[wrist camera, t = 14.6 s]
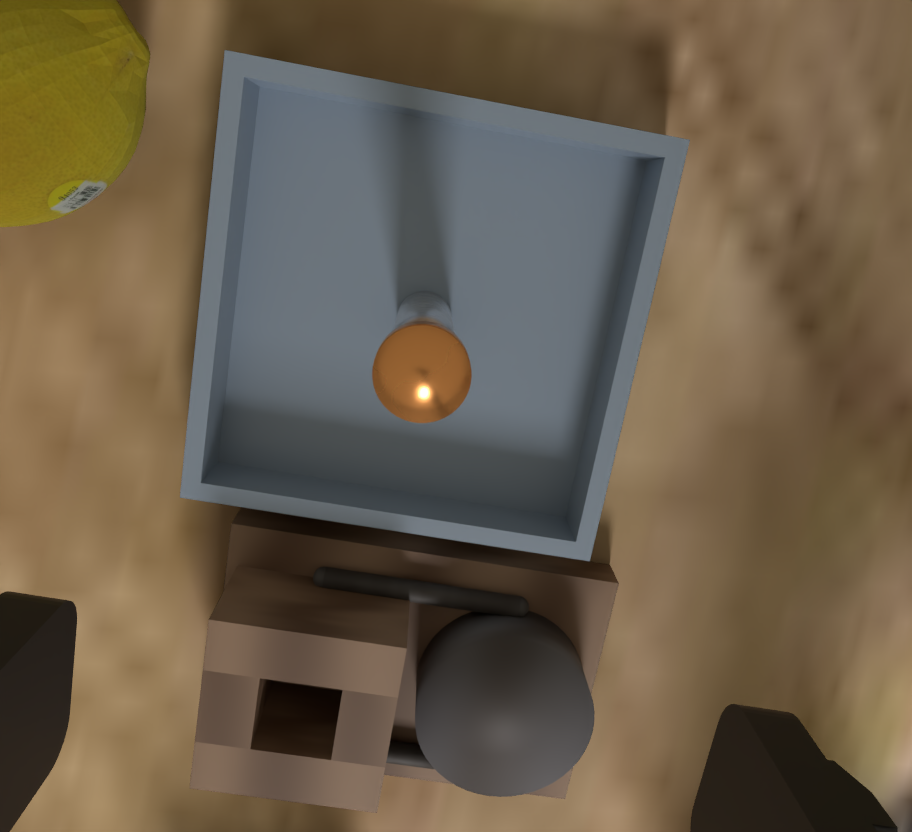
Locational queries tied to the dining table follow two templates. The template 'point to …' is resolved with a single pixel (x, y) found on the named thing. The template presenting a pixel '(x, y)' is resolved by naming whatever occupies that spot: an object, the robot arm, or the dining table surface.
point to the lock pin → (422, 362)
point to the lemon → (66, 104)
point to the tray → (409, 271)
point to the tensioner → (394, 664)
